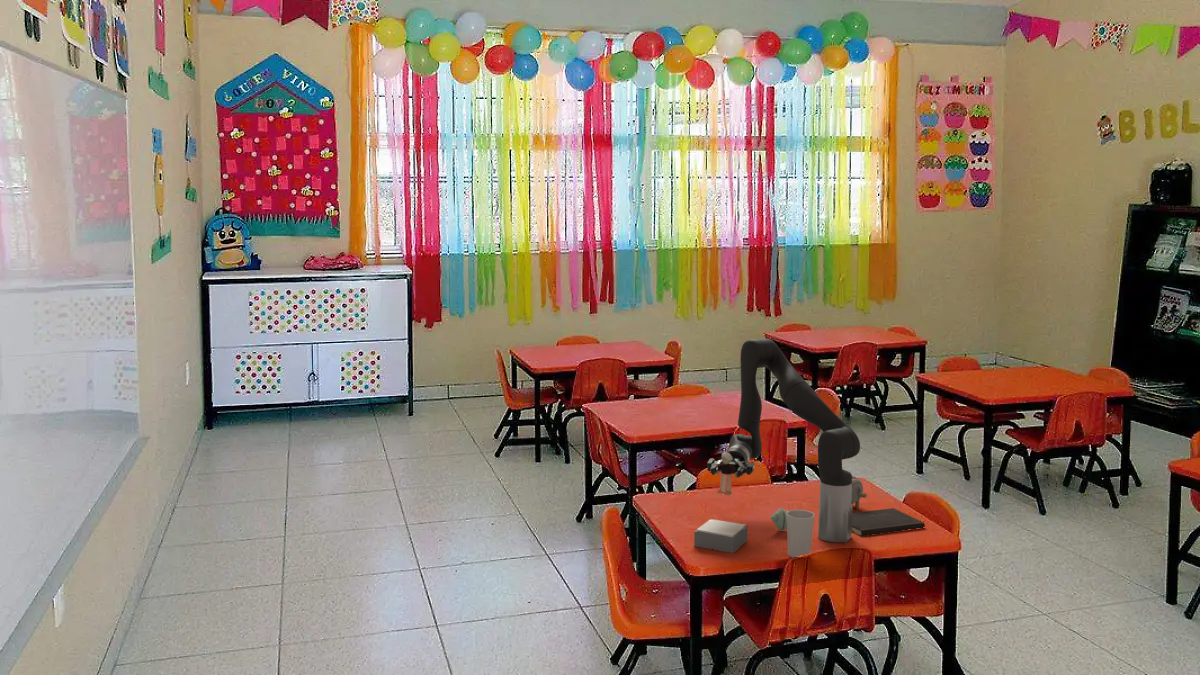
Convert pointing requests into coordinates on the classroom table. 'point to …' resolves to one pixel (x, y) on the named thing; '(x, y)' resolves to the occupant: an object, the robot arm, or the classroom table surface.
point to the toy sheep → (856, 491)
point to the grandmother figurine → (726, 474)
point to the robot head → (780, 519)
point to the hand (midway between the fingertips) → (725, 472)
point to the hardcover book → (883, 522)
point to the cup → (799, 532)
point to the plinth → (720, 535)
